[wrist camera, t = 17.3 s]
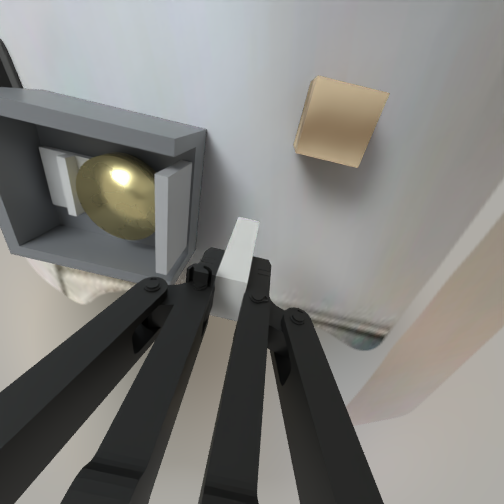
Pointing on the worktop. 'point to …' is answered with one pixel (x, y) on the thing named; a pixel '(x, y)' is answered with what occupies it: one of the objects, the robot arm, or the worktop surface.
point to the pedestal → (338, 121)
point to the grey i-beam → (166, 199)
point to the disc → (118, 194)
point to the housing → (90, 144)
